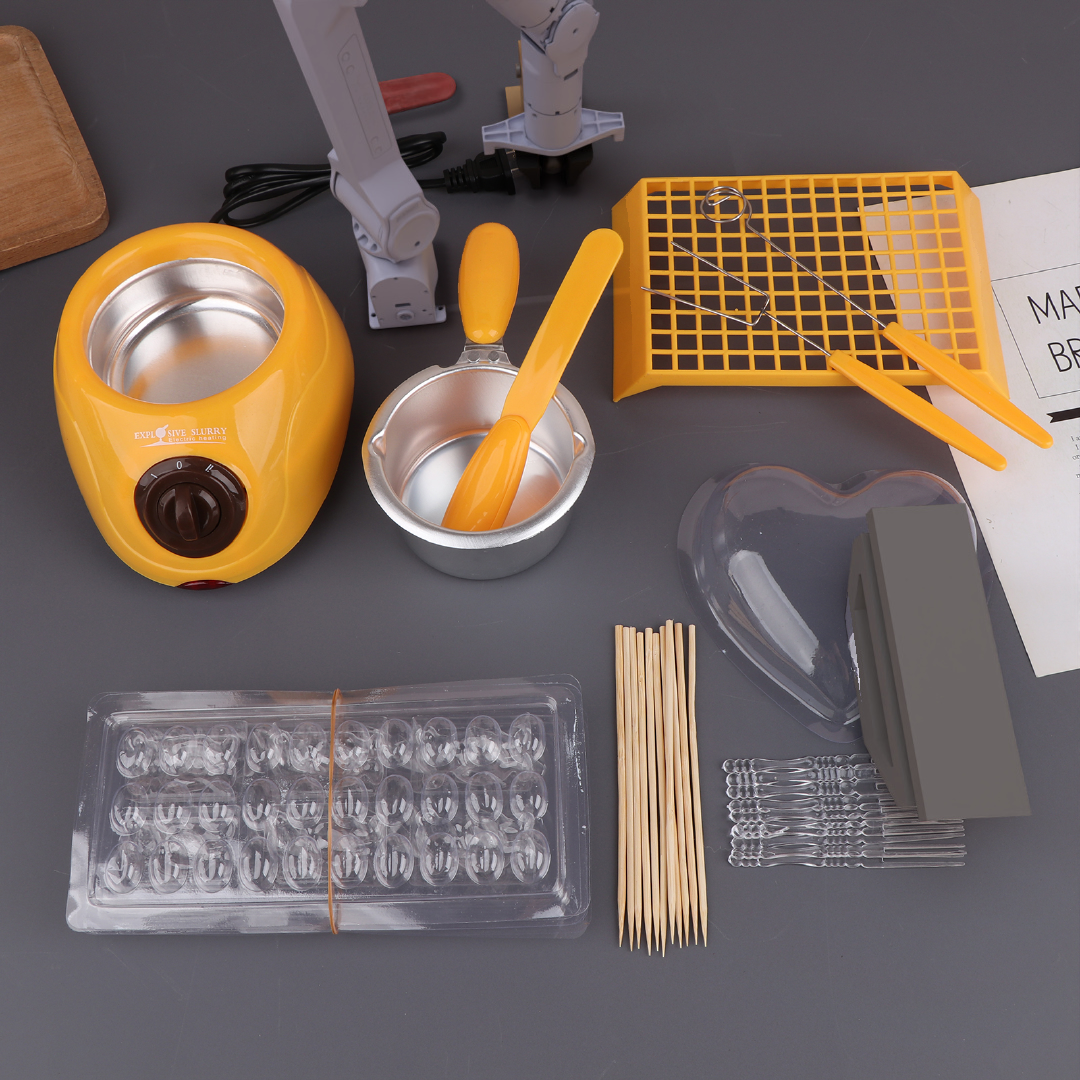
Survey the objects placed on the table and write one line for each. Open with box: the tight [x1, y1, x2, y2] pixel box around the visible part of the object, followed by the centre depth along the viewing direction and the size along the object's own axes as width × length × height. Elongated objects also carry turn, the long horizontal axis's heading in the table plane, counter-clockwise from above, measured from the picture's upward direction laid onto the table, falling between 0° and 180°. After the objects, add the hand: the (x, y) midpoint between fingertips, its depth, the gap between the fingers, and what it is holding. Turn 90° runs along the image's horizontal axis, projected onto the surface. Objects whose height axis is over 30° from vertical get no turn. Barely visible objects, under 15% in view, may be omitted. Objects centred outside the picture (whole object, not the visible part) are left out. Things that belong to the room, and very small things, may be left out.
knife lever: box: [539, 154, 566, 175], centre depth 95 cm, size 12×3×3 cm
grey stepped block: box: [846, 502, 1033, 822], centre depth 76 cm, size 25×8×11 cm, turn 3°
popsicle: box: [378, 71, 457, 116], centre depth 102 cm, size 4×2×15 cm
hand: (553, 188), depth 99 cm, fingers closed on knife lever, 3 cm apart
